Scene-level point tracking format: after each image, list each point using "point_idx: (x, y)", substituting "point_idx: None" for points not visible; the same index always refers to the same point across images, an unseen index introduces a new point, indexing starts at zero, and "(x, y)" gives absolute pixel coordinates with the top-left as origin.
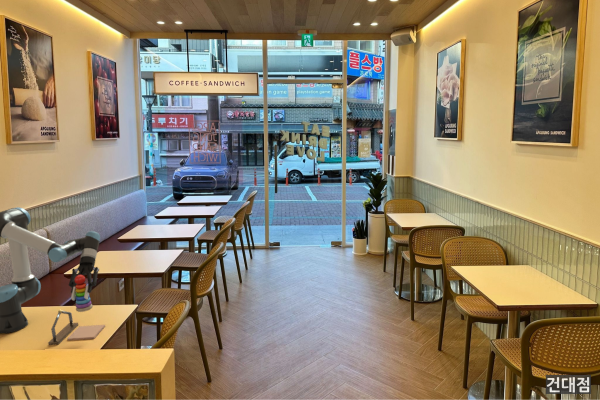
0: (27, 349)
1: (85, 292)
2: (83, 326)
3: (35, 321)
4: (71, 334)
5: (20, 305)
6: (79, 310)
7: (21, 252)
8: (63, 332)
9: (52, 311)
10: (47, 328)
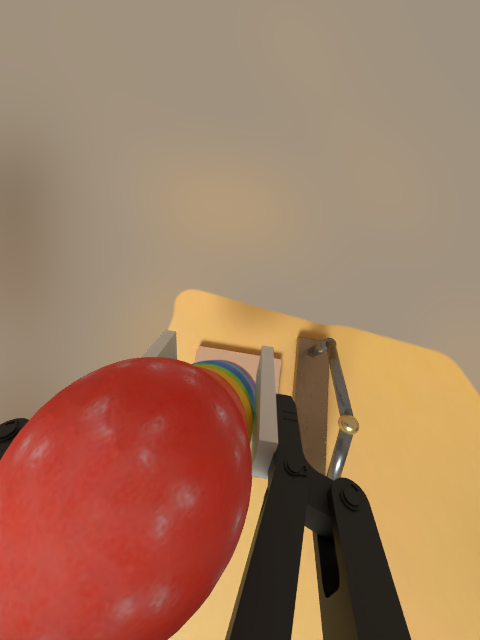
0: (379, 336)
1: (153, 355)
2: None
3: None
4: (277, 387)
5: None
6: (232, 362)
7: None
8: (310, 407)
9: None
10: (400, 496)
